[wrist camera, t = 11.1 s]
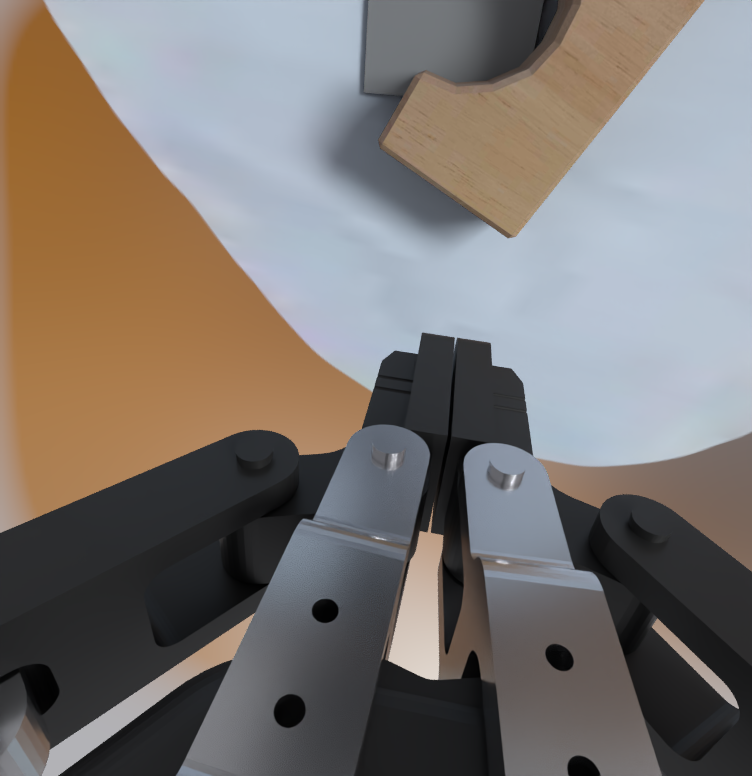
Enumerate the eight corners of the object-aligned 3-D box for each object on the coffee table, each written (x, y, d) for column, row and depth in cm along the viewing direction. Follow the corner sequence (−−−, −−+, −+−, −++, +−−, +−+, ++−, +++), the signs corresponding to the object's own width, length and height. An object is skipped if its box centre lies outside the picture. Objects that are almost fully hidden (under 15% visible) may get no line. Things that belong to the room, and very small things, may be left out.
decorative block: (373, 144, 33) (614, -275, 23) (383, 133, 38) (587, -218, 28) (512, 243, 35) (789, -102, 25) (506, 221, 40) (736, -76, 30)
